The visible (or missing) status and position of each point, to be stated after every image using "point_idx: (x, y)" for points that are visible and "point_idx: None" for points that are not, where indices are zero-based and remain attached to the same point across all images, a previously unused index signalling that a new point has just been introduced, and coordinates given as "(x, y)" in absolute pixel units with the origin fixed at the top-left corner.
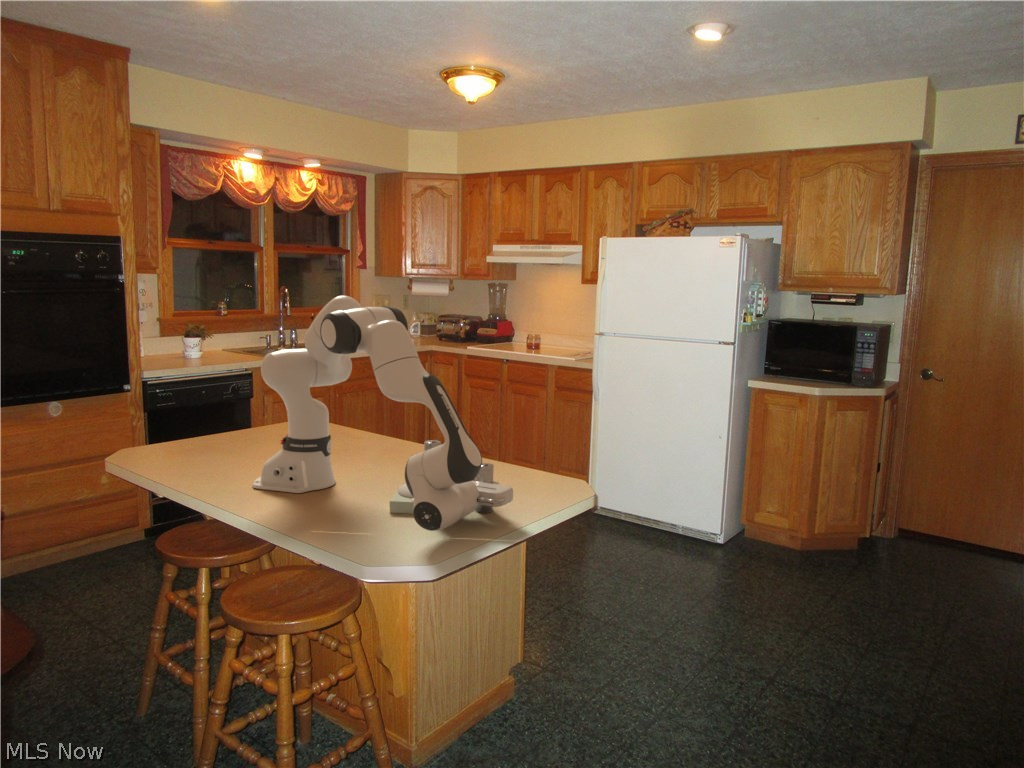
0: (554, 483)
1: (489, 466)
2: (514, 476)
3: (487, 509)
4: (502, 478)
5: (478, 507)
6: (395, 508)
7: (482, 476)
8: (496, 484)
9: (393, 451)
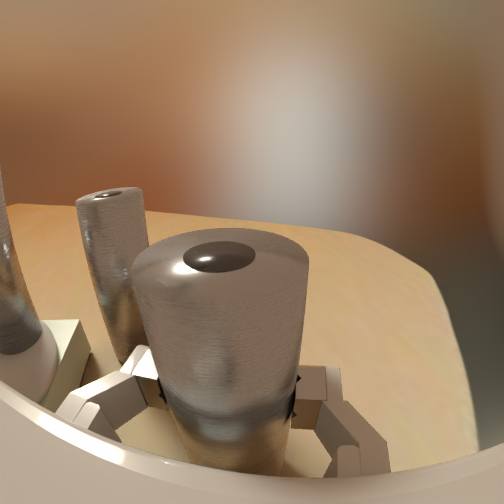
0: (330, 245)
1: (282, 271)
2: None
3: None
4: None
5: None
6: None
7: (221, 389)
8: (438, 487)
9: (51, 220)
